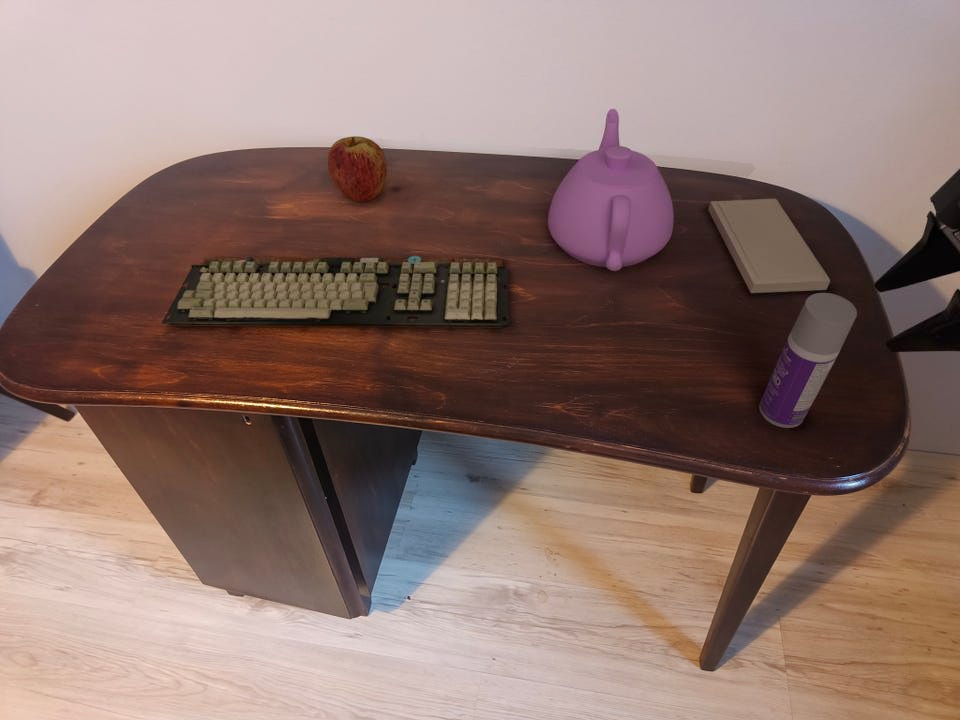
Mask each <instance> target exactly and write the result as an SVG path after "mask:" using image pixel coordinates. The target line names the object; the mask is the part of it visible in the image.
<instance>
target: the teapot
mask: <svg viewBox="0 0 960 720" xmlns="http://www.w3.org/2000/svg"><path fill="white" fill-rule="evenodd" d="M619 124H620V117H619V112H618V110H617V109H616V108H610V109H609V110H608V112H607V114H606V118H605V125H604V131H603V134H602V138H601V141H600V145H599V147H598V149H597V150H593V151H591V152H588V153H587V154H585V155H583V156H582V157H581V158H580V159H579V160H578V161H577V162H576V163H575V164H574V165H573V166H572V167H571V169H570V170H569V171H568V172H567V173H566V175H565V176H564V178H563V179H562V180H561V182H560V183H559V185H558V187H557V189H556V191H555V193H554V195H553V197H552V200H551V203H550V207H549V210H548V216H547V217H548V219H547V225H548V226H547V227H548V230H549V232H550V235H551V237H552V239H553V240H554V241H555V243H556V244H557V245H558V246H559V247H560V248H561V249H562V250H563V251H564V252H565V253H566V254H567V255H569V256H571V257H572V258H573V259H575V260H577V261H579V262H582V263H584V264H587V265H591V266H595V267H601V268H606V269H607V270H609V271H612V272H617V271H620V270H621V269H622V268H624V267H630V266H634V265H637V264H640V263H642V262H644V261H645V260H648V259H650V258H651V257H653V256H655V255H656V254H658V253H659V252H660V251H661V250H663V248H665V247H666V246H667V244H668V242H669V241H670V240H671V237H672V235H673V230H674V222H675V221H674V219H675V218H674V217H675V216H674V215H675V214H674V206H673V200H672V197H671V193H670V191H669V188H668V185H667V183H666V181H665V179H664V177H663V175H662V173H661V171H660V169H659V168H658V166H657V165H656V163H655V162H654V161H653V160H652V159H651V158H650V157H648V156H647V155H646V154H643V153H641V152H639V151H635V150H632V149H631V148H629V147H627V146H623V145H620V144H621V143H620V133H619V132H620V131H619V126H620V125H619Z"/></svg>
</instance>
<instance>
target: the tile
mask: <svg viewBox="0 0 960 720" xmlns="http://www.w3.org/2000/svg"><path fill="white" fill-rule="evenodd" d="M708 213H709V215H710V217H711V219H712V220H713V223H714V224H715V226H716V228H717V230H718V232H719V234H720V236H721V238H722V240H723V242H724V244H725V246H726V248H727V250H728V252H729V253H730V255H731V257H732V260H733V262H734V263H735V265H736V267H737V270H738V272H739V273H740V275H741V277H742V279H743V280H744V283H745V284H746V286H747V288H748V291H749V293H750V294H762V293H763V294H764V293H787V292H789V293H790V292H805V291H806V292H808V291H811V292H812V291H827V289H828V287H829V285H830V283H831V279H830V277H829V276H828V274H827V273H826V271H825V270H824V268H823V267H822V265H821V264H820V262H819V261H818V259H817V258H816V257H815V255H814V253H813V252H812V250H811V248H810V247H809V246H808V244H807V243H806V241H805V240H804V239H803V237H802V235H801V234H800V233H799V231H798V229H797V228H796V227H795V225H794V223H793V222H792V219H790V218H789V216H788V214H787V213H786V212H785V210H784V209H783V207H782V205H781V204H780V202H779V201H778V199H777V198H759V199H758V198H756V199H737V200H736V199H735V200H734V199H733V200H712V201H710V202H709V206H708Z"/></svg>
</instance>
